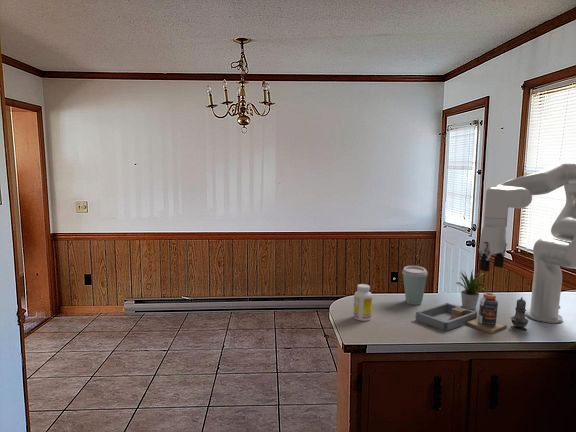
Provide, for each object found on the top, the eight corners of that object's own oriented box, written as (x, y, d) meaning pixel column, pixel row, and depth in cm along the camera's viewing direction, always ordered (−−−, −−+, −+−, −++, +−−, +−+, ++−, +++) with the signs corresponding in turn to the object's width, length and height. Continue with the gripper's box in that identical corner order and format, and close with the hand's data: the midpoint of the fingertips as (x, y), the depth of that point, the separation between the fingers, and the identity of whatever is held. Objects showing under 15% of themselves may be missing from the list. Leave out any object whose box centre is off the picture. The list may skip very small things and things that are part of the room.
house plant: (447, 309, 175) (450, 271, 172) (447, 299, 187) (450, 263, 185) (485, 315, 170) (489, 275, 167) (483, 304, 182) (486, 267, 180)
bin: (446, 309, 175) (446, 302, 174) (476, 319, 164) (477, 312, 164) (415, 319, 163) (416, 312, 162) (445, 331, 152) (446, 323, 152)
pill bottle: (480, 325, 156) (483, 295, 154) (476, 319, 161) (479, 290, 160) (497, 327, 155) (500, 297, 153) (493, 321, 160) (496, 292, 159)
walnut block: (456, 316, 168) (457, 306, 167) (466, 319, 164) (466, 309, 164) (450, 318, 165) (451, 308, 165) (460, 321, 162) (461, 311, 162)
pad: (480, 319, 165) (480, 316, 165) (506, 327, 157) (506, 325, 157) (466, 324, 159) (466, 322, 159) (492, 333, 151) (492, 331, 151)
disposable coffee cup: (429, 306, 178) (431, 271, 176) (403, 306, 178) (405, 271, 176) (421, 298, 188) (424, 265, 186) (397, 298, 188) (399, 264, 186)
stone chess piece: (527, 333, 152) (530, 300, 151) (509, 329, 155) (511, 297, 154) (528, 327, 157) (531, 296, 156) (510, 324, 160) (513, 293, 159)
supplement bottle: (373, 317, 165) (374, 284, 163) (368, 322, 159) (370, 289, 157) (356, 314, 168) (357, 282, 166) (351, 319, 162) (352, 286, 160)
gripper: (497, 219, 161) (493, 263, 163) (472, 222, 151) (468, 270, 153) (517, 221, 155) (513, 267, 157) (492, 225, 145) (488, 274, 147)
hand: (491, 268), depth 155 cm, fingers open, 9 cm apart
